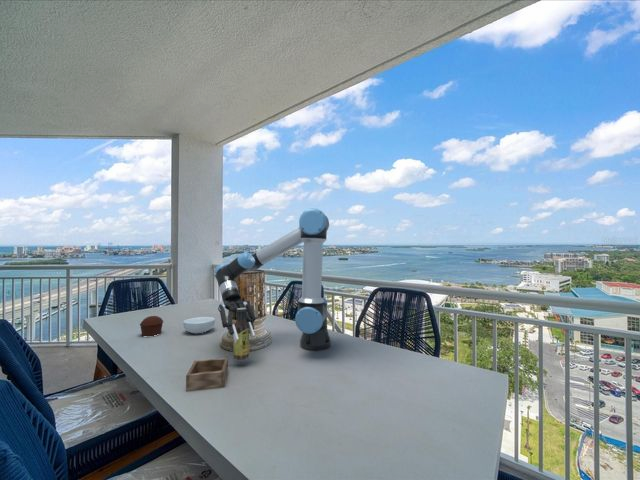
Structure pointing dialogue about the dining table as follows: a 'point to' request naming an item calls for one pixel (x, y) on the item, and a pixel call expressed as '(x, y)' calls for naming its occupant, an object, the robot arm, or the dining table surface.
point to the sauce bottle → (241, 335)
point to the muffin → (151, 326)
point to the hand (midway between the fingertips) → (245, 338)
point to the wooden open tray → (207, 374)
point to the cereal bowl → (199, 324)
